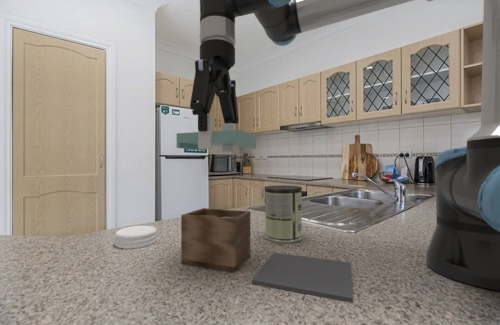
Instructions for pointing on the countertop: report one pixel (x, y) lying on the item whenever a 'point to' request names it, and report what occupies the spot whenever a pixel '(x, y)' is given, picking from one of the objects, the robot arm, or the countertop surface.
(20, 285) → the countertop surface
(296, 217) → the coffee can
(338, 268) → the mat
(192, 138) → the lid
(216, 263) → the box
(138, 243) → the coaster
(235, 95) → the robot arm
